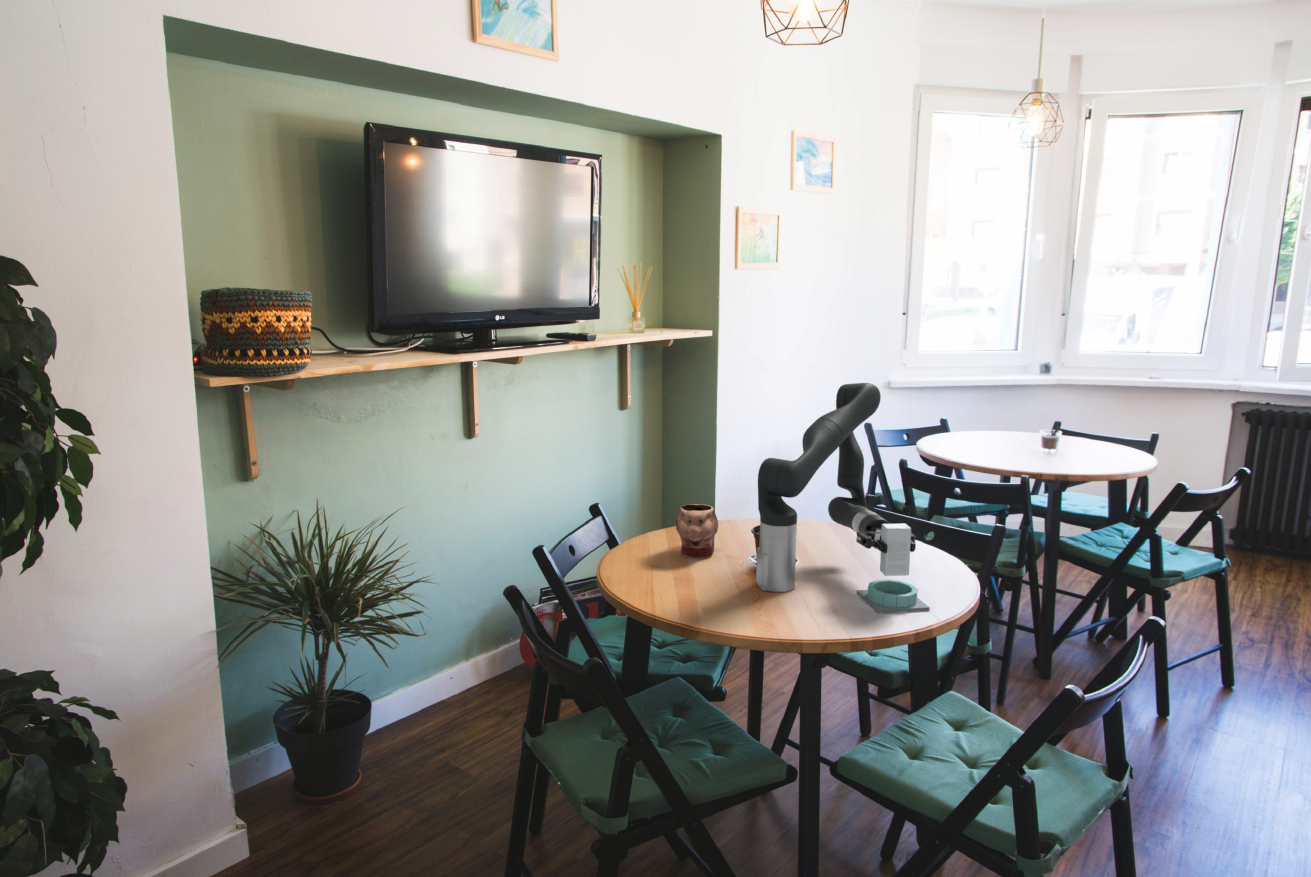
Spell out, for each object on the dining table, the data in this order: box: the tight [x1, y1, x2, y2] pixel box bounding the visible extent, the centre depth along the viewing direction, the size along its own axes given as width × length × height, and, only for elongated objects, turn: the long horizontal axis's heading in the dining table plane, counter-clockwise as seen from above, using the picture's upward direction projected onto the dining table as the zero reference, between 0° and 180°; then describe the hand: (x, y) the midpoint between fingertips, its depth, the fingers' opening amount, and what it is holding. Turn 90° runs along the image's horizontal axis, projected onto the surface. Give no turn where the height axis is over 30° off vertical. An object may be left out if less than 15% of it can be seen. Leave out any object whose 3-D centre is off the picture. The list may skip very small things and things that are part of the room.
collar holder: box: [855, 578, 931, 614], centre depth 196 cm, size 13×13×4 cm
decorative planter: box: [675, 503, 719, 559], centre depth 232 cm, size 20×12×14 cm, turn 179°
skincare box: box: [879, 522, 912, 577], centre depth 194 cm, size 6×4×12 cm
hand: (899, 548), depth 192 cm, fingers closed on skincare box, 6 cm apart
